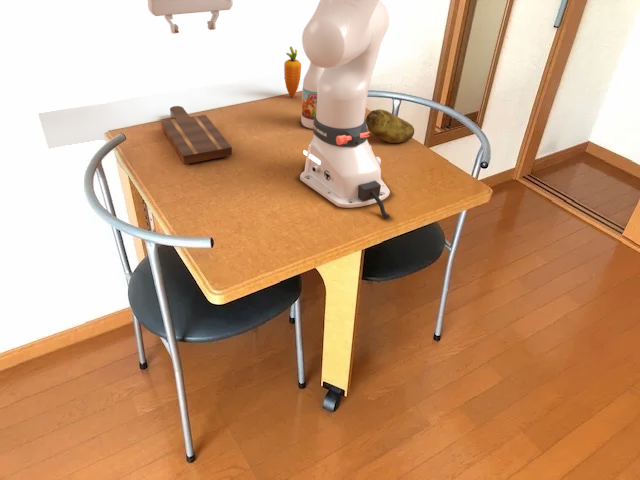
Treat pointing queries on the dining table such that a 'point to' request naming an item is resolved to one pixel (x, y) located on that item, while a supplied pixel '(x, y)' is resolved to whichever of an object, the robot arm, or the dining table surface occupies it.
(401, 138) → the potato
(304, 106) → the milk bottle
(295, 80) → the carrot
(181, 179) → the dining table surface
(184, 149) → the cutting board
